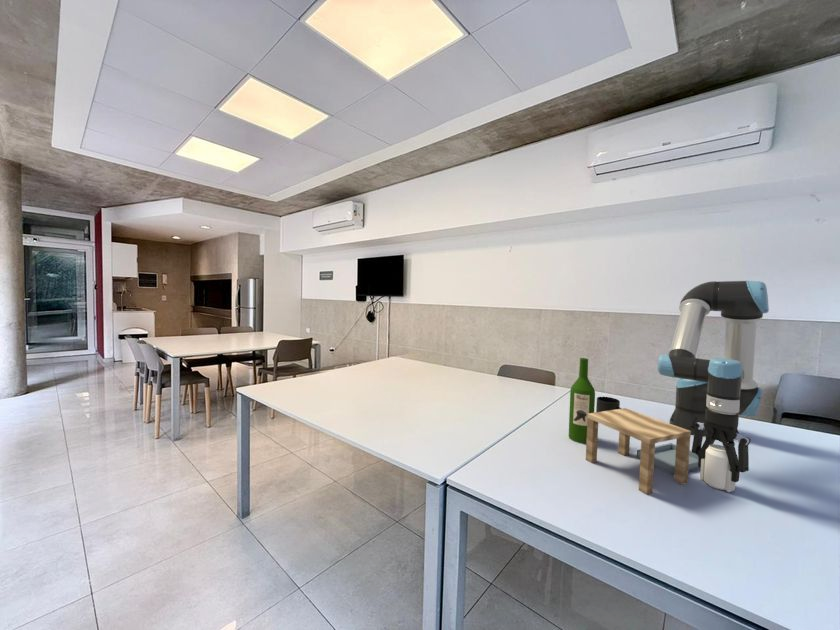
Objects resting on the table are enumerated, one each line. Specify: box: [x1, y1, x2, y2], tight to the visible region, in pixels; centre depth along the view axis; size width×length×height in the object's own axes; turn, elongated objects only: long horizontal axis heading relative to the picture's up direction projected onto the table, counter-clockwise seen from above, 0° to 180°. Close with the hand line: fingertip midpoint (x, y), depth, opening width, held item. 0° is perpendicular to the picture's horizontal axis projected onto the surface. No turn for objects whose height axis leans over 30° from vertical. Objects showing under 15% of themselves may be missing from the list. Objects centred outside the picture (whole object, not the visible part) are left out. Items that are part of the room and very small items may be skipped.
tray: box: [636, 442, 701, 476], centre depth 119 cm, size 18×13×2 cm
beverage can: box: [703, 443, 731, 491], centre depth 104 cm, size 6×6×12 cm
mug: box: [595, 396, 622, 413], centre depth 159 cm, size 9×12×9 cm
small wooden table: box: [585, 407, 692, 495], centre depth 112 cm, size 18×22×16 cm
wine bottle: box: [568, 357, 596, 444], centre depth 136 cm, size 9×9×32 cm
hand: (716, 484), depth 104 cm, fingers closed on beverage can, 6 cm apart
